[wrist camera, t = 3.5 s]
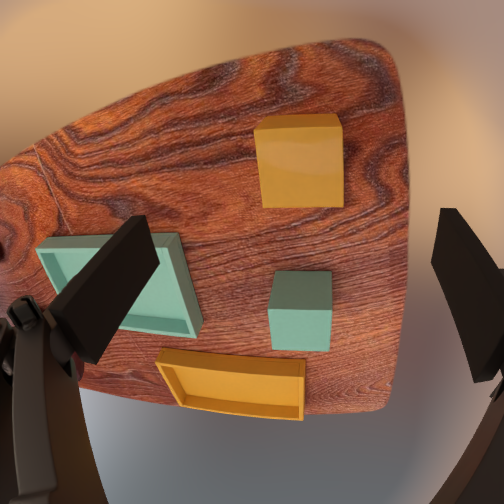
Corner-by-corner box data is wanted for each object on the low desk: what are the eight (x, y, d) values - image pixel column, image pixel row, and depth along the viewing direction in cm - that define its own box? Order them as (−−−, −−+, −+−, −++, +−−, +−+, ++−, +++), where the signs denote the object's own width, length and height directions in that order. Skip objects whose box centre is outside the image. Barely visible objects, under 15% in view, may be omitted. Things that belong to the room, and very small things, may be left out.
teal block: (331, 270, 27) (332, 310, 23) (329, 311, 30) (329, 351, 26) (275, 270, 28) (267, 309, 24) (279, 311, 31) (272, 349, 27)
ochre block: (336, 113, 20) (342, 126, 16) (338, 178, 23) (343, 207, 19) (265, 116, 21) (253, 129, 17) (272, 180, 24) (262, 208, 20)
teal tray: (178, 232, 28) (167, 247, 26) (203, 321, 34) (196, 338, 32) (47, 236, 32) (34, 248, 30) (81, 307, 38) (72, 320, 36)
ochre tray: (305, 359, 35) (303, 377, 33) (304, 405, 41) (303, 420, 39) (161, 346, 39) (154, 362, 37) (185, 392, 45) (179, 406, 43)
